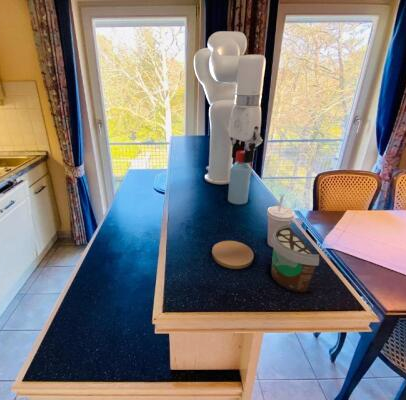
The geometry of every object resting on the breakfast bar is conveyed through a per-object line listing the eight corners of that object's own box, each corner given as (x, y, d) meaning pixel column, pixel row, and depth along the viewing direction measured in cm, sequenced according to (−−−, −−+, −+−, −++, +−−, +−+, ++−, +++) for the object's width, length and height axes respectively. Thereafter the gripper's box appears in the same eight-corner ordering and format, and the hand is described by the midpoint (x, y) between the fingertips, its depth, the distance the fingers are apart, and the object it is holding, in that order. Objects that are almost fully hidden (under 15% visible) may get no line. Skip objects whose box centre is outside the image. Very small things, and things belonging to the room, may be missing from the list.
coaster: (204, 250, 67) (204, 246, 67) (236, 240, 71) (236, 236, 71) (227, 274, 59) (228, 270, 59) (262, 261, 63) (262, 257, 62)
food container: (257, 259, 63) (263, 223, 59) (282, 258, 64) (290, 222, 60) (279, 299, 52) (288, 258, 48) (309, 297, 53) (321, 256, 48)
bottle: (224, 198, 95) (227, 152, 88) (239, 194, 98) (243, 149, 90) (235, 205, 90) (240, 157, 82) (251, 202, 92) (257, 154, 85)
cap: (233, 160, 88) (233, 151, 87) (242, 158, 90) (243, 149, 88) (240, 163, 85) (241, 154, 84) (250, 161, 87) (251, 152, 85)
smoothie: (257, 240, 71) (264, 192, 65) (276, 235, 73) (284, 188, 67) (273, 253, 66) (282, 203, 60) (293, 247, 68) (304, 198, 62)
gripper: (221, 100, 85) (217, 154, 93) (257, 104, 71) (250, 168, 79) (239, 99, 88) (234, 152, 96) (278, 103, 74) (269, 165, 82)
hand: (241, 159), depth 87 cm, fingers open, 5 cm apart
